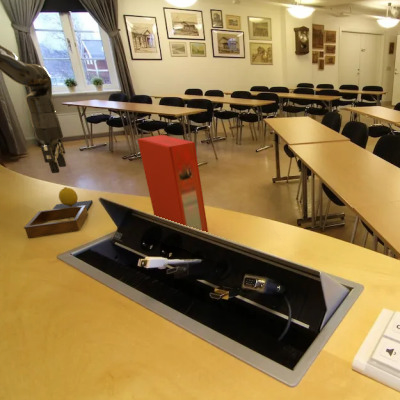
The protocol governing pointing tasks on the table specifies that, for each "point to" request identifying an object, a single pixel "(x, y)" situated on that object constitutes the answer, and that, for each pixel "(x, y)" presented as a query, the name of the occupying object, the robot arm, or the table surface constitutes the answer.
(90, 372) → the table surface
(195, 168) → the file binder
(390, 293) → the table surface
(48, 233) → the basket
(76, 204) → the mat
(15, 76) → the robot arm
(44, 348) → the table surface
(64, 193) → the lemon
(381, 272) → the table surface
